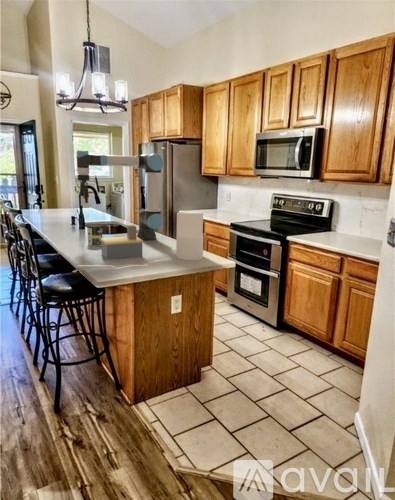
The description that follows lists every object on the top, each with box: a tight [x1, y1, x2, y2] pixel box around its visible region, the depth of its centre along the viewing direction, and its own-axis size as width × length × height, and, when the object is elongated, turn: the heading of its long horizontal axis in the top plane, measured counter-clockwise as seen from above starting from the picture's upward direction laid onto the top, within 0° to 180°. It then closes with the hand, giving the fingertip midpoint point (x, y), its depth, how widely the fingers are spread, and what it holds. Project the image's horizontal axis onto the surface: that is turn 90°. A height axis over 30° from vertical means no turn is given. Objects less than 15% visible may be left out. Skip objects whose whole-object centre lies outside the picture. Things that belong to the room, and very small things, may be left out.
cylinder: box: [175, 211, 205, 261], centre depth 225 cm, size 17×17×28 cm
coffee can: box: [86, 224, 103, 247], centre depth 251 cm, size 10×10×14 cm
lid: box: [101, 224, 144, 245], centre depth 219 cm, size 23×15×11 cm, turn 118°
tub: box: [100, 241, 143, 261], centre depth 221 cm, size 22×14×10 cm, turn 118°
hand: (84, 206), depth 239 cm, fingers open, 13 cm apart
